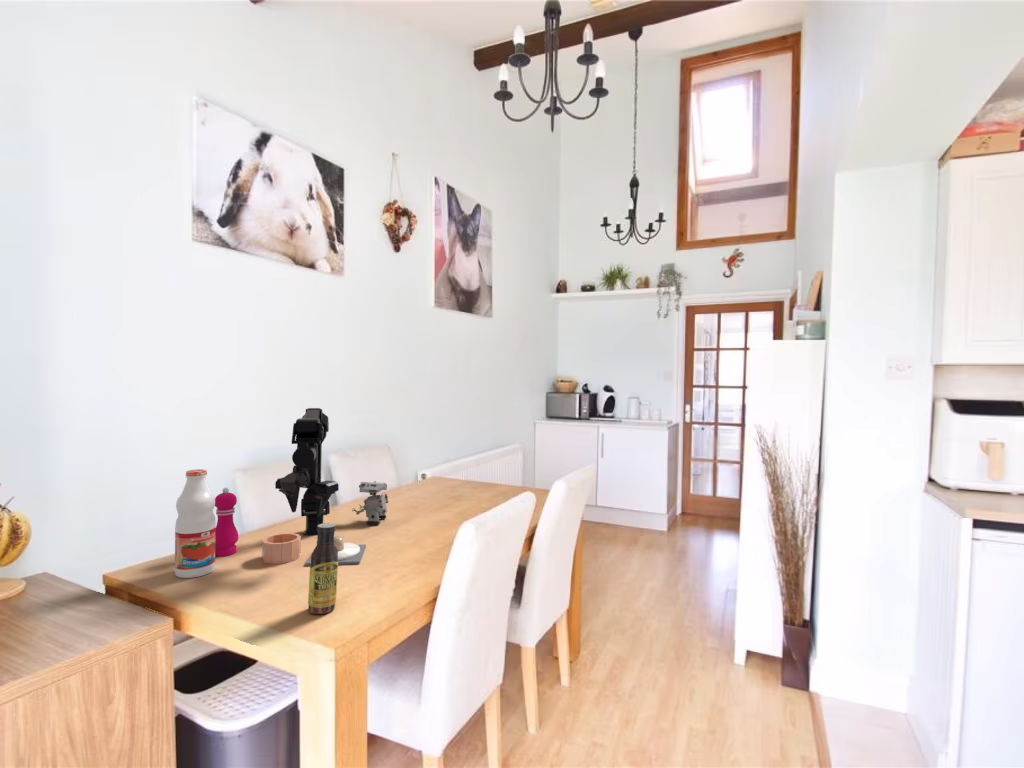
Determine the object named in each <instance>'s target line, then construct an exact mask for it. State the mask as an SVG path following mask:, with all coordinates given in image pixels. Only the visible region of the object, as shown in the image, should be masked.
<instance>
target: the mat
mask: <svg viewBox="0 0 1024 768" xmlns="http://www.w3.org/2000/svg"><path fill="white" fill-rule="evenodd" d="M357 545H358V546H359V547H360V553H359V554H358V555H357V556H355V557H353V558H350V559H346V560H340V561H338V566H341V565H345V566H347V565H349V566H350V565H361V561H362V559H363V557H364V554H365V551H366V548H367V544H357ZM311 555H312V553H311V554H310V556H309V557H308V559H307V560H306V562H305V567H310V565H311Z"/></svg>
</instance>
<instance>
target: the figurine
mask: <svg viewBox="0 0 1024 768" xmlns="http://www.w3.org/2000/svg"><path fill="white" fill-rule="evenodd" d="M358 488H359V493H369V495H370V496H367V498H366V499H364V500H363V503H364V505H361V504H359V506H360V507H358V509H359V510H357V509H356V508H352V510H351V511H352V512H356V515H357V516H358V515H360V514H361V513H364V512H365V516H366V518H367V521H366V522H367V523H366V524H367V525H368V526H373V525H374V526H379V525H380V520H385V519H387V515H386V514H387V513H388V509H387V504H389V499H388V498H389V496H388V494H387V493H386V492H382V491H387V490H388V484H387V483H386V482H377V481H375V480H374V481H361V482H360V484H359V485H358ZM380 492H382V493H381V494H378V493H380ZM383 494H384V495H383ZM379 519H380V520H379Z"/></svg>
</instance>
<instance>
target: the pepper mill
mask: <svg viewBox="0 0 1024 768" xmlns="http://www.w3.org/2000/svg"><path fill="white" fill-rule="evenodd" d="M229 489H230V488H228V487H224V488H223V489H222V490H221V491H222V493H219V494H218V495H216V496H215V506H214V508H216V509H215V516H217V520H216V521H217V522H216V527H215V557H228V556H231V555H234V554H236V552H238V551H237V550H238V548H237V547H238V546H237V545H236V544H237V542H238V540H239V533H238V530H237V527H236V526H235V522H234V514H235V512H236V511H235V510H236V508H235V506H236V504H237V503H238V499H237V497H236V495H235V493H232V492H230V490H229Z"/></svg>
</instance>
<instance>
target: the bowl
mask: <svg viewBox="0 0 1024 768" xmlns="http://www.w3.org/2000/svg"><path fill="white" fill-rule="evenodd" d="M301 543H302V536H301V535H300V534H298V533H293V532H286V533H285V532H284V533H283V532H282V533H276V534H271V535H268V536H265V537H264V538H263V539H262V545H261V546H262V548H261V549H262V551H261V558H262V561H263V563H265V564H267V565H281V564H288V563H292V562H294V561H297V560H298V559H300V556H301V553H302V552H301V550H302V548H301V547H302V545H301Z"/></svg>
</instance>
